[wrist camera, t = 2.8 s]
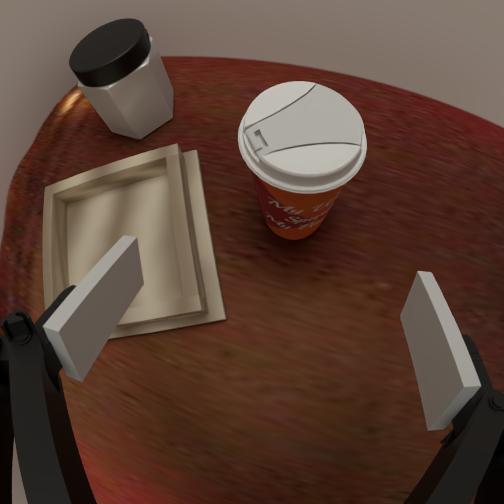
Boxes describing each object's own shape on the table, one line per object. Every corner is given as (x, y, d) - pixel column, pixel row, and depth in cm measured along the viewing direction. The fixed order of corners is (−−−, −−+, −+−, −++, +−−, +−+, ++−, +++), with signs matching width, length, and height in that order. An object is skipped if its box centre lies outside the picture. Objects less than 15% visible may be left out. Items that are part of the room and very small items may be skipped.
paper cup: (272, 264, 29) (270, 205, 16) (240, 193, 31) (216, 98, 18) (348, 231, 30) (398, 154, 16) (312, 164, 31) (330, 63, 18)
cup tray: (198, 154, 33) (189, 133, 29) (227, 319, 28) (219, 317, 24) (56, 198, 33) (37, 184, 29) (62, 344, 29) (39, 344, 25)
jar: (190, 93, 35) (164, 17, 23) (155, 146, 33) (112, 74, 22) (134, 82, 36) (100, 18, 25) (99, 130, 35) (51, 69, 23)
